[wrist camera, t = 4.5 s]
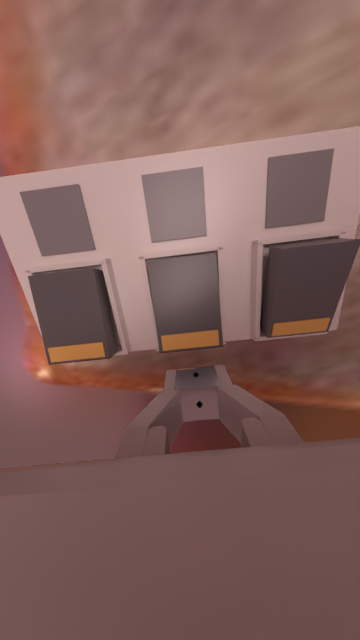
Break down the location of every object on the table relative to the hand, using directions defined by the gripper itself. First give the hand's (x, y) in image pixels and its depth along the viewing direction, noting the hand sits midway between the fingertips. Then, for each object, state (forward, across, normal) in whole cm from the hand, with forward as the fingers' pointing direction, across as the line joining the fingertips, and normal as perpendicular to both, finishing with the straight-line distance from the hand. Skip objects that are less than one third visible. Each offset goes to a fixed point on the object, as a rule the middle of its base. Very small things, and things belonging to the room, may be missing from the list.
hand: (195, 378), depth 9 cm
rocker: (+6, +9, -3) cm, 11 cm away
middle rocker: (+6, 0, -3) cm, 6 cm away
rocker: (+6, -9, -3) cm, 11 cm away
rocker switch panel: (+11, 0, -6) cm, 12 cm away
